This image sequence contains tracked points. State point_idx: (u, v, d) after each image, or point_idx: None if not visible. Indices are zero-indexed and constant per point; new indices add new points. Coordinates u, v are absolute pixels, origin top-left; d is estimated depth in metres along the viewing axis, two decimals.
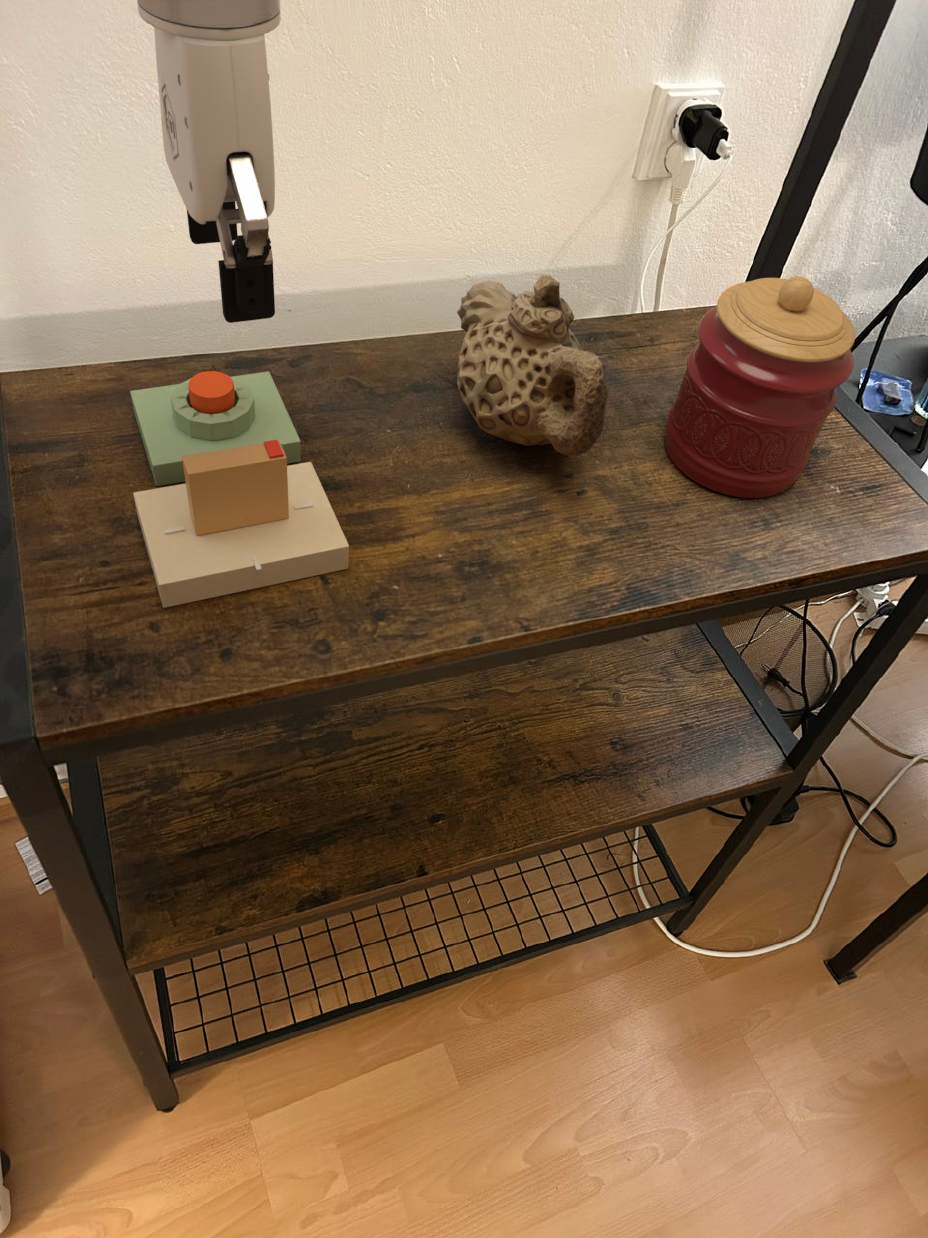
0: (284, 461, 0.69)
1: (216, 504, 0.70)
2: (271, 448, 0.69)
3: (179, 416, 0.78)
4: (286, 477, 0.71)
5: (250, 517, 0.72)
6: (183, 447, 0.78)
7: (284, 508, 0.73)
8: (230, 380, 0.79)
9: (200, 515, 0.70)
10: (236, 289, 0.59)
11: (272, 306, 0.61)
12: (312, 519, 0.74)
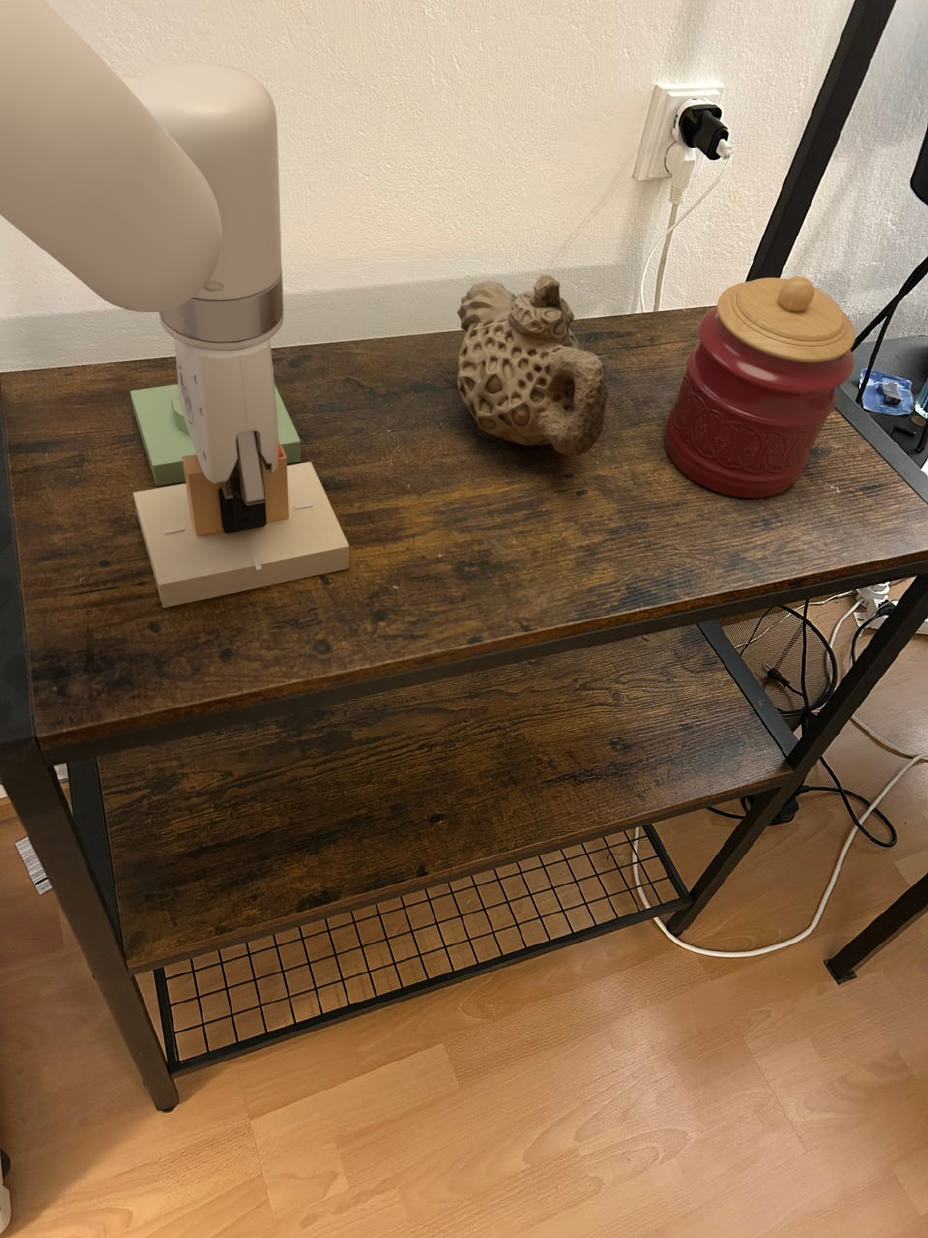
0: (284, 461, 0.69)
1: (216, 504, 0.70)
2: None
3: (179, 416, 0.78)
4: (286, 477, 0.71)
5: None
6: (183, 447, 0.78)
7: (284, 508, 0.73)
8: None
9: (200, 515, 0.70)
10: (233, 511, 0.70)
11: (264, 518, 0.72)
12: (312, 519, 0.74)
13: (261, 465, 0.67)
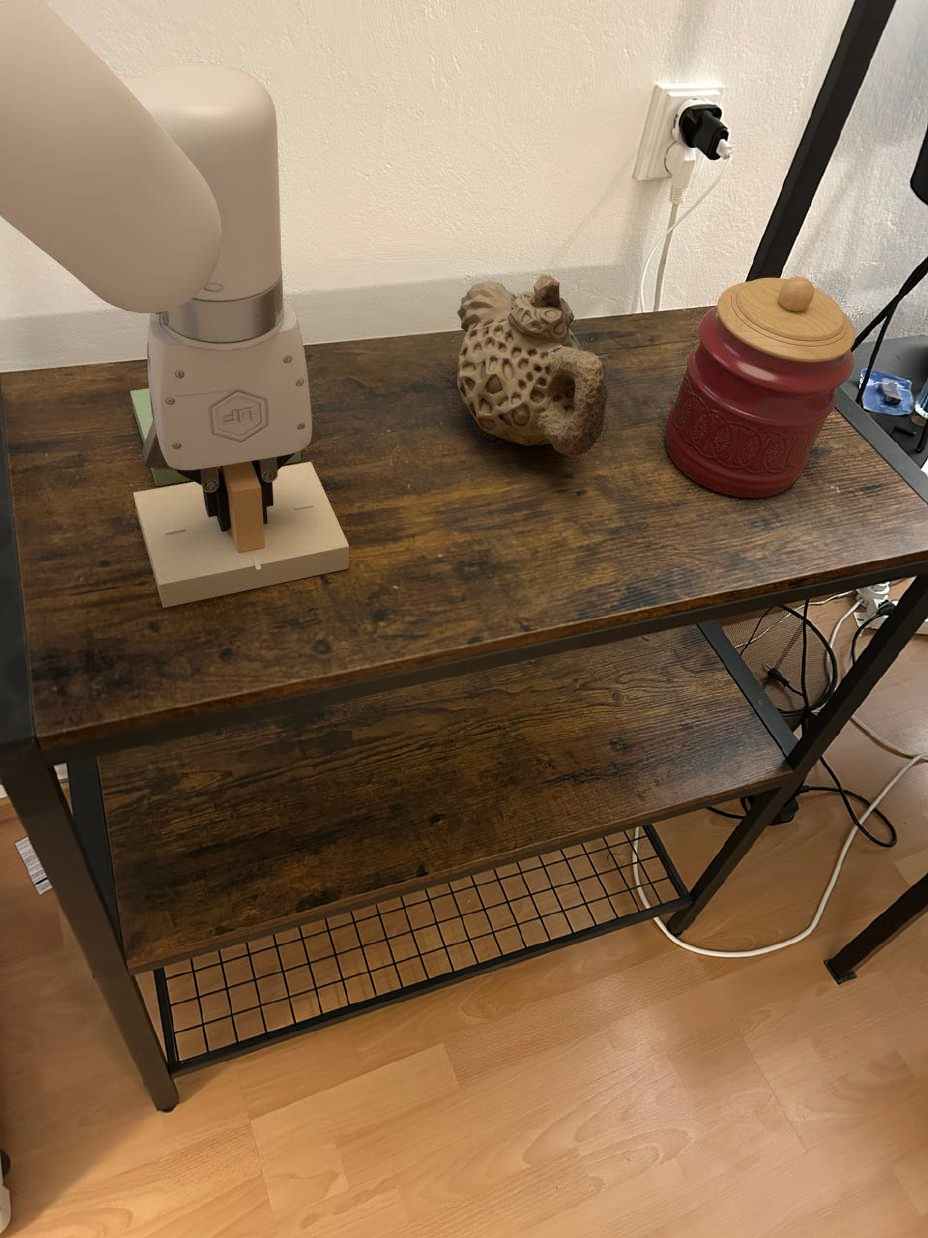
0: None
1: None
2: None
3: None
4: None
5: None
6: None
7: None
8: None
9: None
10: (268, 493, 0.71)
11: None
12: (312, 519, 0.74)
13: None
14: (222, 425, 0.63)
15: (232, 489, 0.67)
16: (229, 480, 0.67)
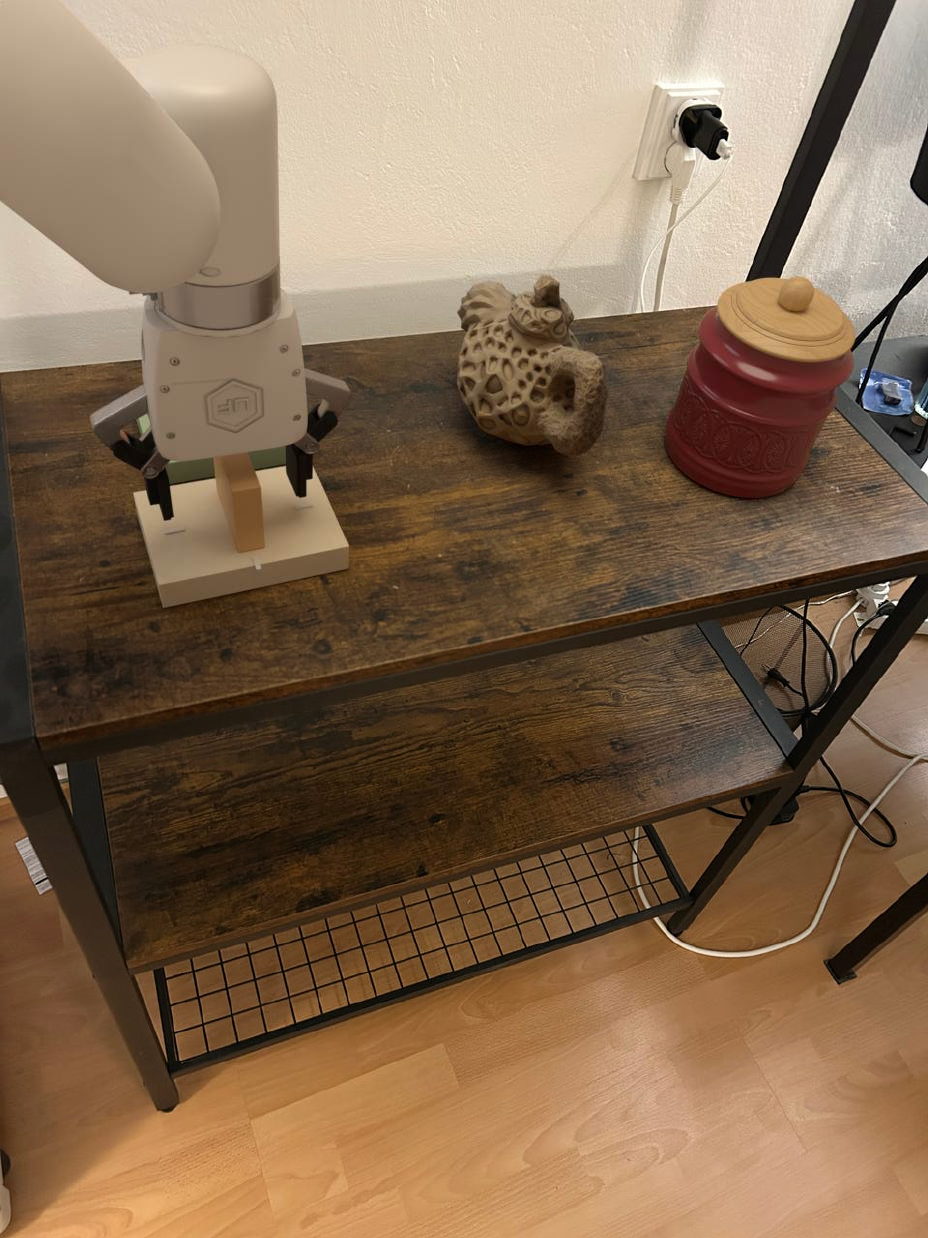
0: None
1: None
2: None
3: None
4: None
5: None
6: None
7: None
8: None
9: None
10: (307, 465, 0.71)
11: None
12: (312, 519, 0.74)
13: None
14: (217, 415, 0.62)
15: (232, 489, 0.67)
16: (229, 480, 0.67)
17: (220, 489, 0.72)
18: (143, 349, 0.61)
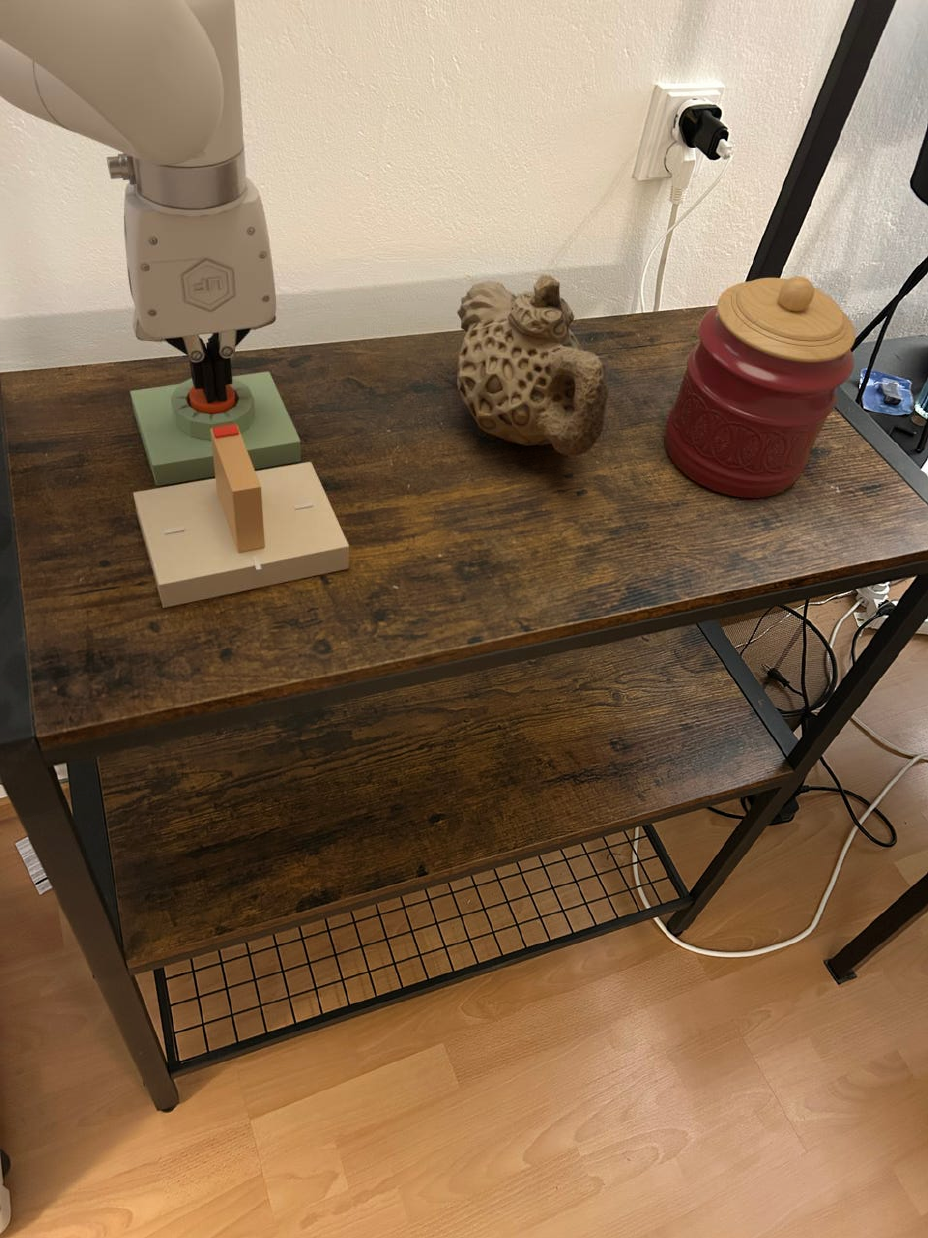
0: (238, 429, 0.71)
1: None
2: (226, 431, 0.70)
3: (179, 416, 0.78)
4: None
5: None
6: (183, 447, 0.78)
7: None
8: (231, 389, 0.80)
9: None
10: (226, 370, 0.78)
11: None
12: (312, 519, 0.74)
13: None
14: (193, 293, 0.70)
15: (232, 489, 0.67)
16: (229, 480, 0.67)
17: (220, 489, 0.72)
18: (126, 233, 0.68)
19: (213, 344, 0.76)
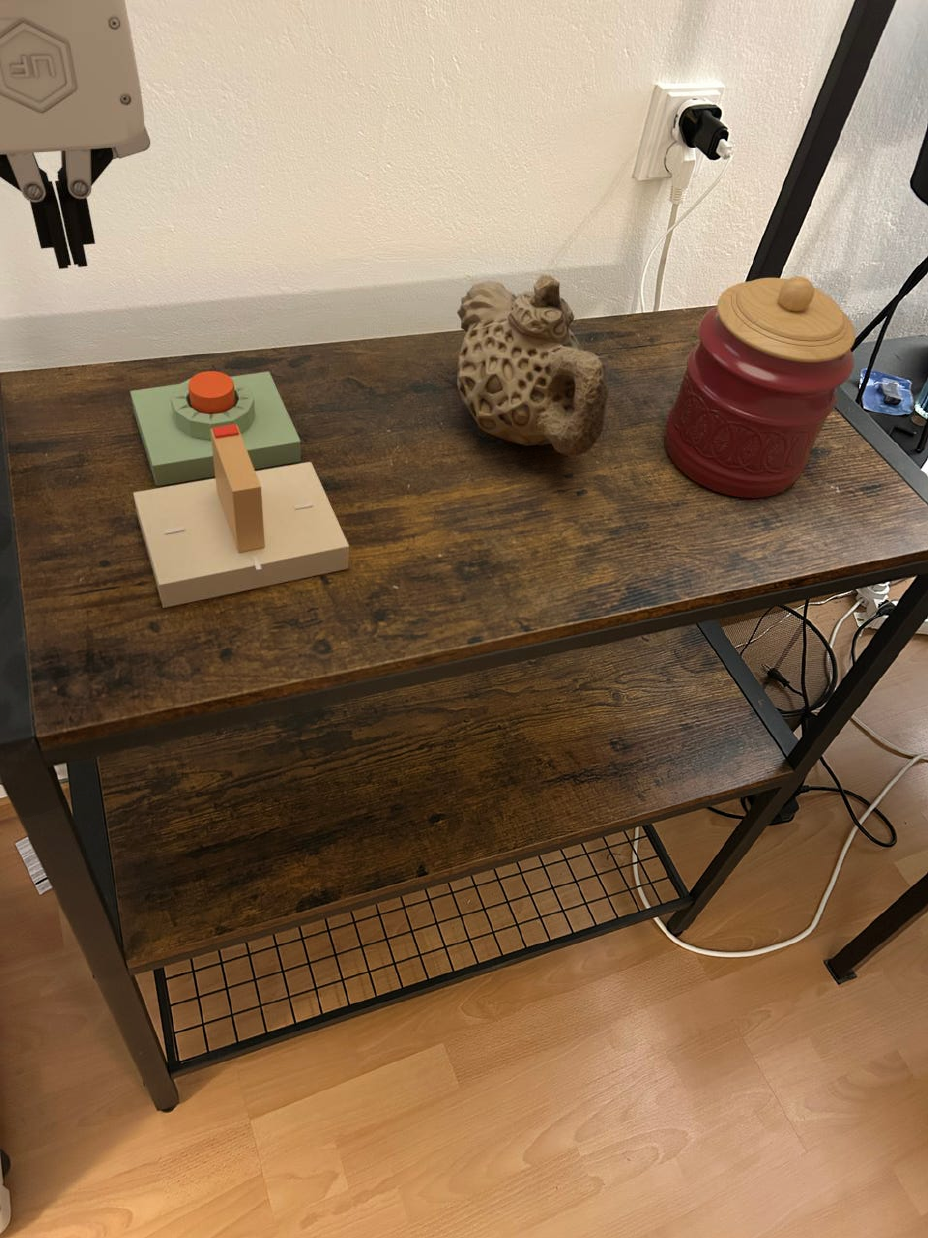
0: (238, 429, 0.71)
1: None
2: (226, 431, 0.70)
3: (179, 416, 0.78)
4: None
5: None
6: (183, 447, 0.78)
7: None
8: (230, 380, 0.79)
9: None
10: (84, 220, 0.55)
11: None
12: (312, 519, 0.74)
13: None
14: (10, 80, 0.47)
15: (232, 489, 0.67)
16: (229, 480, 0.67)
17: (220, 489, 0.72)
18: None
19: (61, 179, 0.53)
